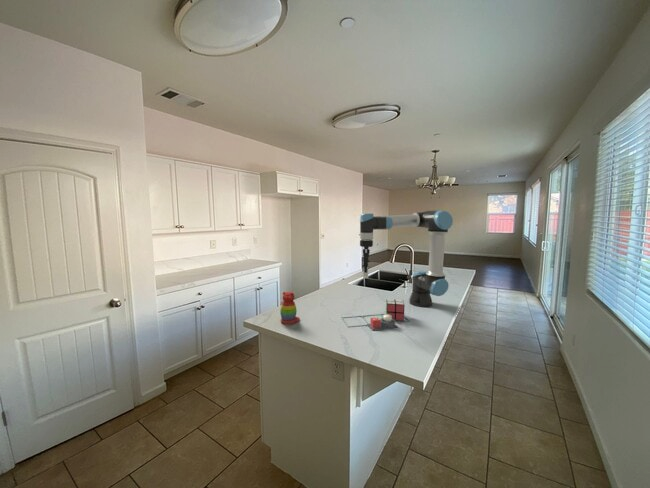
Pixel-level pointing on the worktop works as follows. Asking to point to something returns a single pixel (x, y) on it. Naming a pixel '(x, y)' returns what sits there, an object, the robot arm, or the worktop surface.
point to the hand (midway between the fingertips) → (365, 275)
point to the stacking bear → (288, 309)
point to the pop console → (381, 324)
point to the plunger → (387, 318)
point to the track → (367, 322)
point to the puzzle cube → (395, 309)
